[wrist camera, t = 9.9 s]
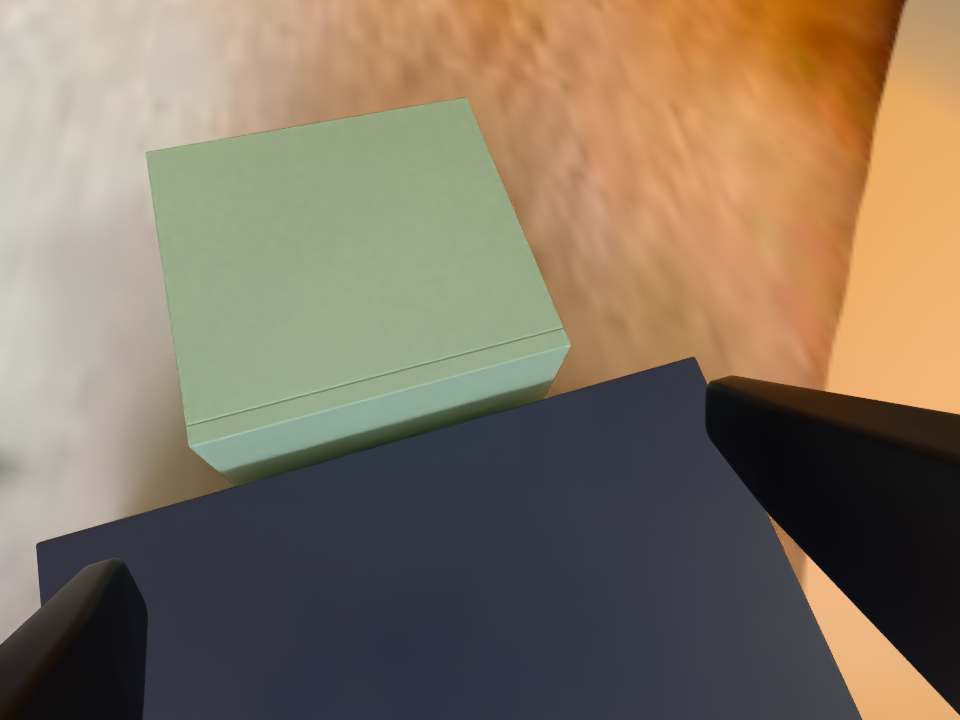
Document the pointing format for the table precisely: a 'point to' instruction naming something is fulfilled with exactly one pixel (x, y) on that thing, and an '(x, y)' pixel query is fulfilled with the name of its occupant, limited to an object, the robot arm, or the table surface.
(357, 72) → the table surface
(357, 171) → the green arch-shaped block
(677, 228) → the table surface
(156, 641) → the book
